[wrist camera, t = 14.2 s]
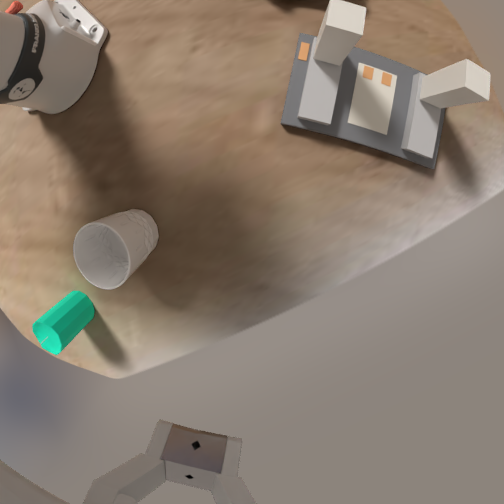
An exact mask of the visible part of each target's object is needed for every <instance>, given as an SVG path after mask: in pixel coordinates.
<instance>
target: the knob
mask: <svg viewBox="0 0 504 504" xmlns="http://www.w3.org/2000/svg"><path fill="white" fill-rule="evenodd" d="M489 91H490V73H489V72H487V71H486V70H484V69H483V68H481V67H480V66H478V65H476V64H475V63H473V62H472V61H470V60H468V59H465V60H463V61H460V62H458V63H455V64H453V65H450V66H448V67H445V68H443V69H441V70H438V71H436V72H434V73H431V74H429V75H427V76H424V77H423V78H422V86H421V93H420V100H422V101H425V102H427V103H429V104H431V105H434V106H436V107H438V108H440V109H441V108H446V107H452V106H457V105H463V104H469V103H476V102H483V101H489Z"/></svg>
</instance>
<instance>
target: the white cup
mask: <svg viewBox="0 0 504 504" xmlns="http://www.w3.org/2000/svg"><path fill="white" fill-rule="evenodd" d="M158 238H159V235H158V228H157V225H156V223H155V221H154V220H153V218H152V216H150V215H149V214H147V213H146V212H145V211H143V210H138V209H131V210H128V211H125V212H119V213H116V214H113V215H109V216H106V217H104V218H101V219H99V220H96V221H93V222H91V223H88V224H86V225H84V226H83V227H82V228H81V229H80V230H79V231H78V232H77V234H76V236H75V239H74V244H73V253H74V259H75V262H76V265H77V267H78V269H79V271H80V272H81V274H82V275H83V276H84V277H85V279H86V280H87V281H89V282H90V283H91V284H93V285H94V286H96V287H98V288H101V289H107V290H110V289H115V288H118V287H119V286H121V285H122V284H123V283H124V282H125V281H126V280H127V279H128V278H129V277H130V276H131V275H132V273H133V272H134V271H135V270H136V269H137V268H138V267H139V266H140V265H141V264H142V263H143V262H144V260H145V259H146V258H147V257H148V255H149V254H150V252H151V251H152V250H153V249H154V248H155V247H156V245H157V241H158Z"/></svg>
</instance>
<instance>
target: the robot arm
mask: <svg viewBox="0 0 504 504" xmlns="http://www.w3.org/2000/svg"><path fill="white" fill-rule="evenodd" d="M22 8H23V5H22V4H21V3H20V2H18V1H14V2H13V3H12V4H11V6H10V7H9V8H8V9H7V10H6V12H2V11H0V104H7V105H13V106H18V107H22V108H23V110H24V111H35V110H39V111H42V112H44V113H47V114H56V113H59V112H62V111H64V110H66V109H68V108H69V107H70V106H72V105H73V104H74V103H75V102H76V101H77V100H78V99H79V98H80V97H81V95H82V94H83V93H84V91H85V90H86V88H87V87H88V85H89V83H90V81H91V79H92V77H93V74H94V72H95V69H96V65H97V60H98V54H99V50H100V48H101V46H102V44H103V43H104V41H105V39H106V37H107V34H108V30H107V28H106V27H105V26H104V25H103V24H102V23H101V22H100V21H99V20H98V19H97V18H96V17H95V16H94V15H93V14H92V13H91V12H90V11H89V10H88V9H86V8H85V7H84V6H83V5H82V4H81V3H80V2H79V1H78V0H55V1H54V2H53V1H51V0H42V1H40V2H38V3H37V4H35V5H34V6H32V7H31V8H30V9H29V10H28V11H27V12H26V13H18V12H19V11H20V10H21V9H22ZM17 13H18V14H17ZM96 29H97V31H96V32H95V30H96ZM241 446H242V439H241V438H235V437H230V436H228V437H227V436H226V435H221V434H215V433H211V432H206V431H201V430H196V429H192V428H188V427H184V426H181V425H177V424H174V423H170V422H167V421H163V420H159V421H158V423H157V425H156V427H155V430H154V433H153V435H152V438H151V440H150V443H149V445H148V448H147V450H146V453H145V454H142V453H141V454H139V455H137V456H136V457H134V458H132V459H131V460H129V461H127V462H125V463H124V464H122V465H120V466H119V467H117V468H115V469H114V470H112V471H110V472H108V473H106V474H105V475H103V476H101V477H99V478H97V479H95V480H94V481H93V482H92V485H91V487H90V489H89V491H88V493H87V495H86V498H85V500H84V502H83V504H137V502H139V501H140V500H142V499H143V498H145V497H146V496H147V495H148V494H150V493H151V492H153V491H154V490H155V489H156V488H158V487H159V486H160V485H161V484H163V483H164V482H165V481H166V480H168V481H172V482H176V483H180V484H184V485H188V486H192V487H196V488H200V489H204V490H209V491H211V493H212V495H213V498H214V500H215V502H216V504H257V503H256V501H255V500H254V498H253V497H252V495H251V493H250V492H249V490H248V488H247V486H246V485H245V483H244V481H243V480H242V478H241V477H237V475H238V468H239V461H240V453H241ZM0 504H69V503H67V502H66V501H64V500H62V499H60V498H58V497H56V496H55V495H53V494H51V493H49V492H48V491H46V490H44V489H43V488H41V487H39V486H38V485H36V484H34V483H33V482H31V481H30V480H28V479H27V478H25V477H24V476H22V475H20V474H19V473H18V472H16V471H14V470H13V469H12V468H11V467H9V466H8V465H6V464H5V463H4V462H2V461H1V460H0Z"/></svg>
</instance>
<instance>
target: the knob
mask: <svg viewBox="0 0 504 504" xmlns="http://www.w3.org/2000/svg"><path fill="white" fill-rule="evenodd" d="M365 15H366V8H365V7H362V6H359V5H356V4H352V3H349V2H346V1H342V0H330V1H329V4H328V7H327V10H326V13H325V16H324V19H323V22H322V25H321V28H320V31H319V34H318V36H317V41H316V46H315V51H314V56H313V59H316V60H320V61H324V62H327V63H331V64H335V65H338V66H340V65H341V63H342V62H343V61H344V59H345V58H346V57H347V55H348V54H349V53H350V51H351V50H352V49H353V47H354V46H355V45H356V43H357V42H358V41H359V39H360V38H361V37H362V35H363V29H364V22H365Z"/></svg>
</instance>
